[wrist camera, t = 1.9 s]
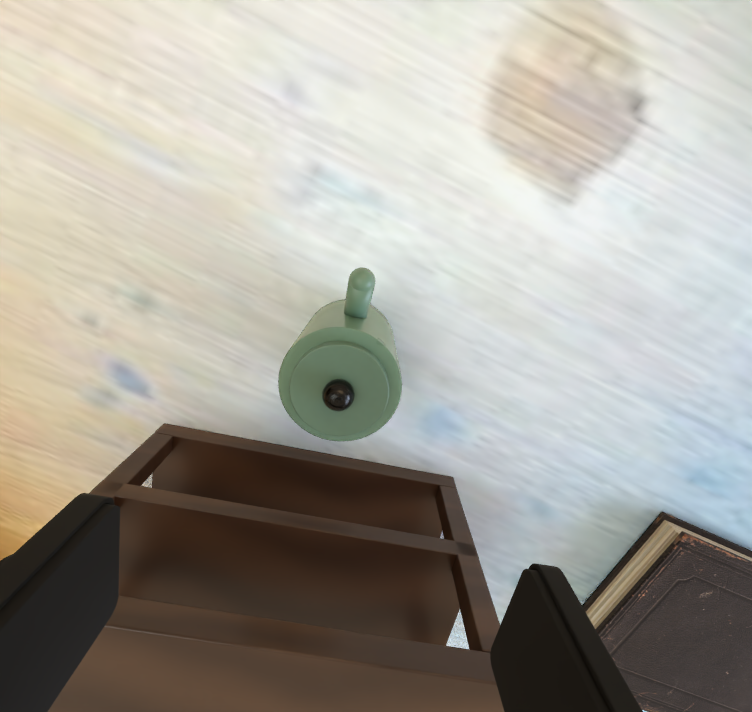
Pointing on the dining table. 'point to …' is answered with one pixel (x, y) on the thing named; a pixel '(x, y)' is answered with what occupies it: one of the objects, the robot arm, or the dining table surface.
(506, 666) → the robot arm
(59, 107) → the dining table surface
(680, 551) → the hardcover book
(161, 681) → the stand
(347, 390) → the kettle
